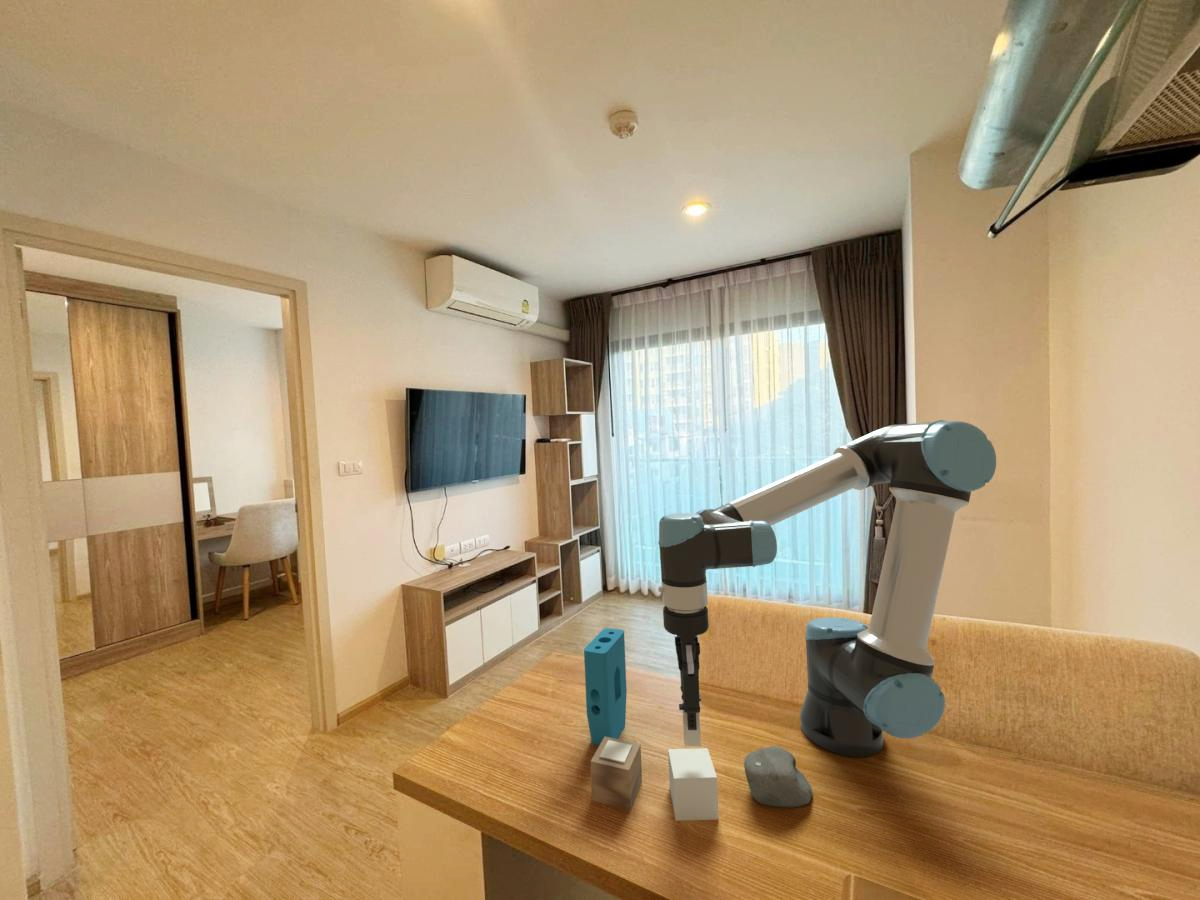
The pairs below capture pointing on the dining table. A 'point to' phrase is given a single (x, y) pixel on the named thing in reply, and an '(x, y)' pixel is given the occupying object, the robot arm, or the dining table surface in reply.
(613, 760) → the marked block
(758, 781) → the stone
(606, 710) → the block
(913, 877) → the dining table surface
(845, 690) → the robot arm
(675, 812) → the plain block
